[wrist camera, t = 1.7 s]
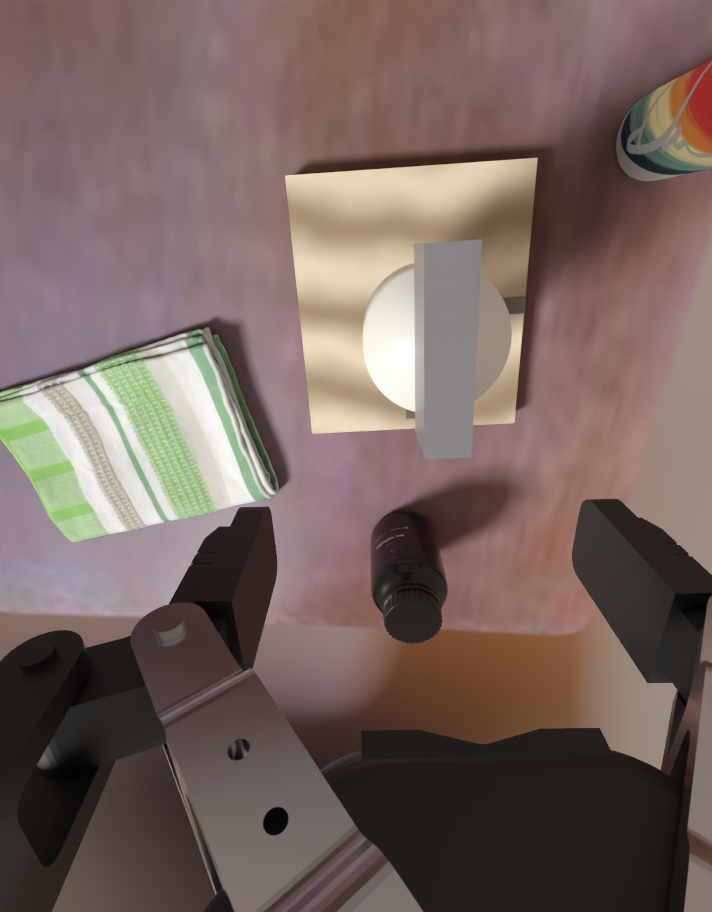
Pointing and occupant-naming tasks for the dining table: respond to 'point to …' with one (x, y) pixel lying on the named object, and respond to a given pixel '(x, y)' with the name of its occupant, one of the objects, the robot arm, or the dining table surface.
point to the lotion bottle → (669, 129)
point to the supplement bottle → (408, 577)
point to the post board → (386, 250)
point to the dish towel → (138, 438)
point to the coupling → (438, 342)
